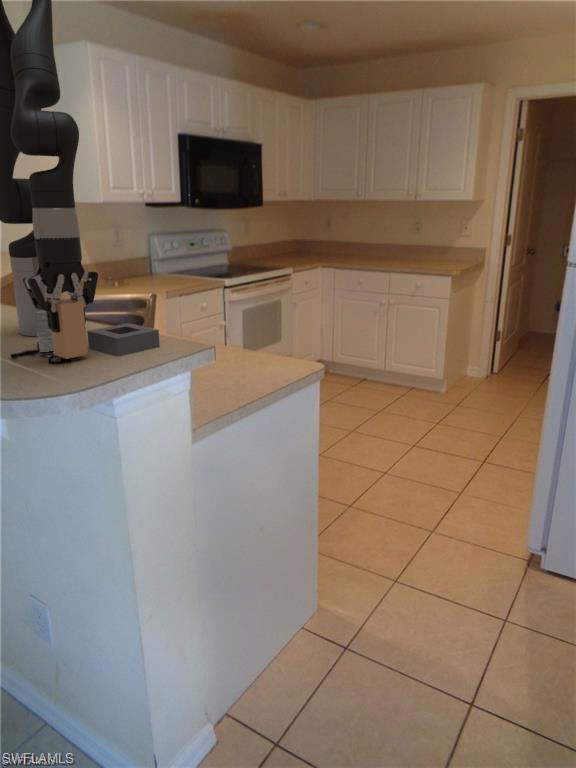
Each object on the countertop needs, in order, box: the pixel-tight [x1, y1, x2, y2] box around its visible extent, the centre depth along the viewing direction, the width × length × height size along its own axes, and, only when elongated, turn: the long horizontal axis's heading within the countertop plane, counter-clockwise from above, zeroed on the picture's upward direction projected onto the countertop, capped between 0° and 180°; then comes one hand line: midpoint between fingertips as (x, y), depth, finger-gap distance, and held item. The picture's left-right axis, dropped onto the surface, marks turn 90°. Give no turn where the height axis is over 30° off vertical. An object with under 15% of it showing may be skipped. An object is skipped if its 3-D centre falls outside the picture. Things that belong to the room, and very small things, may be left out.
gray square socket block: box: [86, 322, 160, 357], centre depth 115 cm, size 10×10×4 cm
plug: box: [51, 298, 89, 360], centre depth 105 cm, size 4×4×10 cm
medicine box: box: [34, 310, 53, 353], centre depth 113 cm, size 8×4×9 cm, turn 170°
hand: (67, 329), depth 105 cm, fingers closed on plug, 4 cm apart
